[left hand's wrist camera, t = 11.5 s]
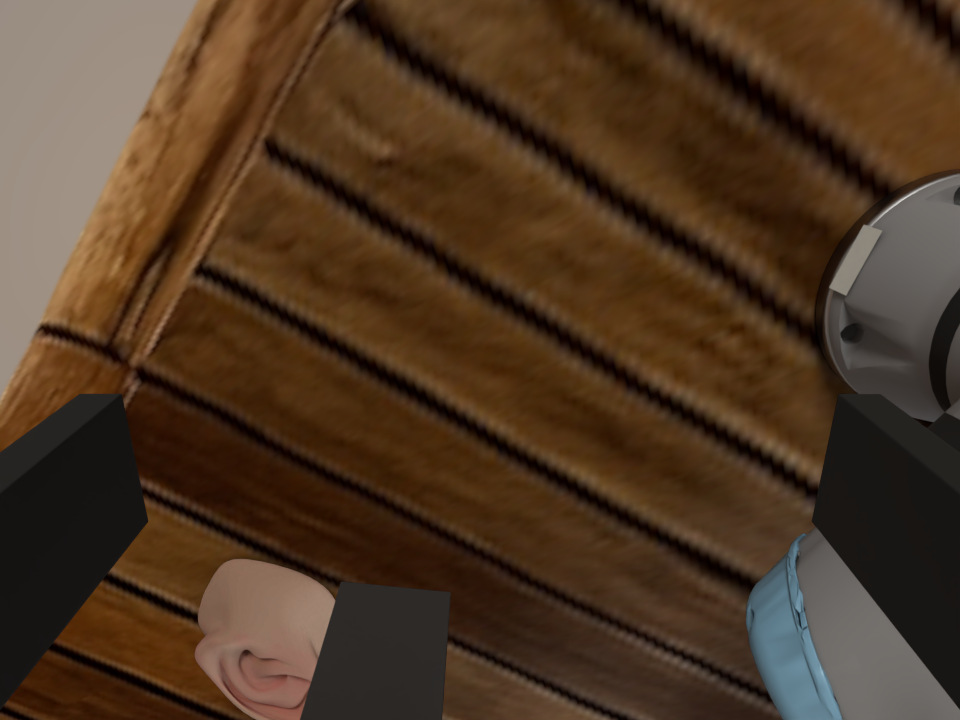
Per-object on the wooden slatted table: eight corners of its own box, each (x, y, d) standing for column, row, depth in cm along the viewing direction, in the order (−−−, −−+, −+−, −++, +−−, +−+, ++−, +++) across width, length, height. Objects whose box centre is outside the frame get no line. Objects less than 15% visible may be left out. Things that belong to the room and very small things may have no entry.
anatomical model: (167, 592, 45) (339, 599, 46) (191, 555, 49) (349, 562, 49) (188, 737, 50) (343, 743, 50) (208, 693, 54) (353, 698, 54)
